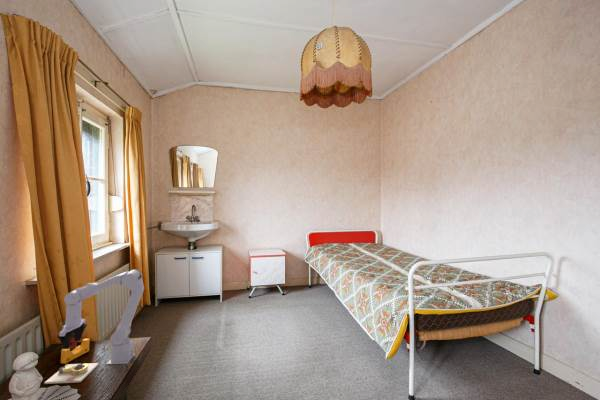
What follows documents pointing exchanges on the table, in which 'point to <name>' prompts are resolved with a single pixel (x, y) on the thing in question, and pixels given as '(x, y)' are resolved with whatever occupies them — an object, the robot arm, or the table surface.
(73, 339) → the deodorant
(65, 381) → the board
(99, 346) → the table surface
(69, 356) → the pipe clamp
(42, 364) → the table surface
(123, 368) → the table surface
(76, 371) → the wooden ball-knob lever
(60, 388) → the table surface
